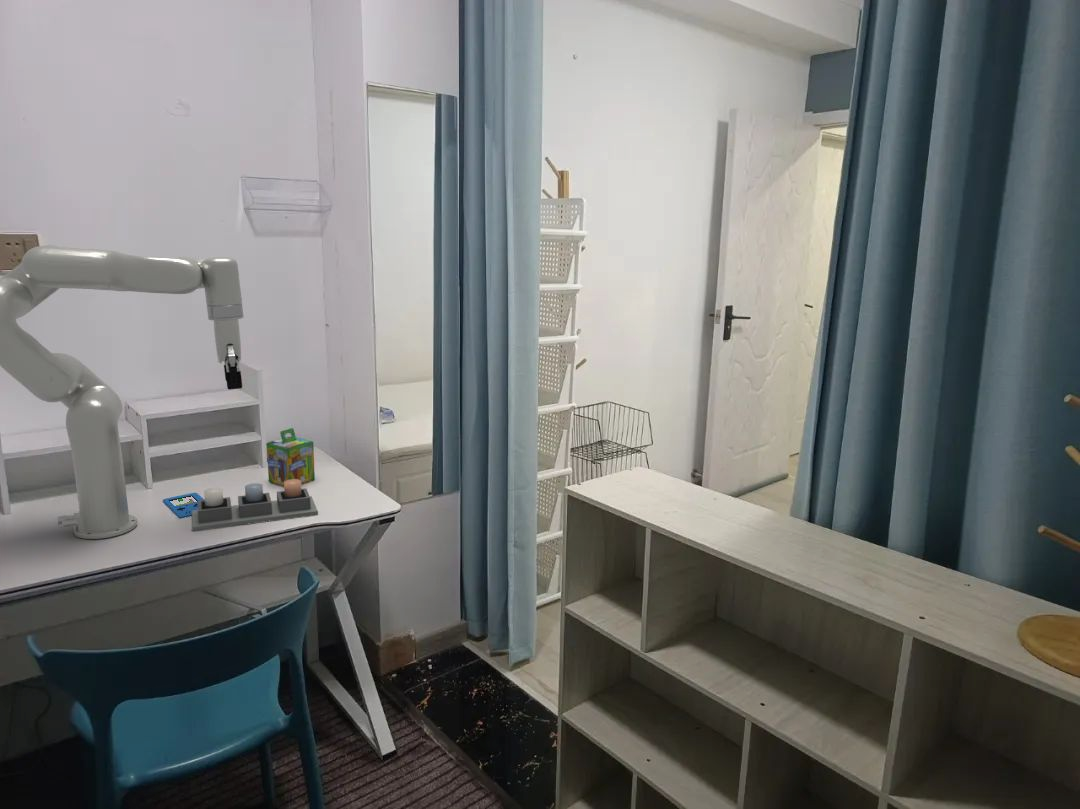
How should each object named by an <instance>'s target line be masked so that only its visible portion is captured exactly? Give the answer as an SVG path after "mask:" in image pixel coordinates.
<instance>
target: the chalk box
mask: <svg viewBox="0 0 1080 809" xmlns="http://www.w3.org/2000/svg"><path fill="white" fill-rule="evenodd" d="M295 433H296V432H295V429H294V428H292V427H291V428H286V429H284V430H281V431H280V433H279V434H280V437H281V438H279V439H276V440H271V441H269V442H266V444H265V445H266V456H267V458H266V459H267V460H266V461H267V472H268V473H267V474H268V475H267V476H268V483H269V482H270V483H269V484H274V485H278V486H282V487H284V482H285V481H286V480H290V479H299V480H301V485H304V484H307V483H310V482H312V481H315V479H316V478H315V454H314V453H315V452H314V451H315V450H314V441H312V440H308V439H305V438H302V437H296V434H295ZM288 434H290V436H286V435H288Z"/></svg>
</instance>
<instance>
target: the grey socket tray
mask: <svg viewBox="0 0 1080 809" xmlns="http://www.w3.org/2000/svg"><path fill="white" fill-rule="evenodd" d="M301 491H302V494H301V495H299V496H295V497H288V496H285V491H284V490H280V491H276V500H272V499H271V495H270V492H263V499H262V500H259V501H247V500H246V496H245V494H244V495H237V497H238V498H237V500H238V504H237V505H236V504H235V505H232V504H231V503H232V502H231V497H230V496H229V497H223V504H221V505H218V506H206V505H205V499H204V500H201V501H198V510H192V516H191V518H192V519H191V520H192V522H191V530H192V532H198V531H197V530H199V531H205V530H204V529H206V530H213V528H214V529H221V528H228V527H237V526H243V525H242V524H244V525H249V524H248V523H252V524H256V523H255V522H260V523H263V522H262V521H267V522H272V521H271V520H275V521H280V520H279V519H282V520H287V519H286V518H290V519H295V518H294V517H298V518H303V517H302V516H305V517H310V515H313V516H318V515H319V510H318V509H317V506H316V503H315V501H314V498H313V496H312V495H311V496H310V494H309V491H308V489H307V488H306V487H305V488H301ZM269 520H270V521H269ZM236 525H237V526H236Z"/></svg>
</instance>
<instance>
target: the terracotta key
mask: <svg viewBox="0 0 1080 809" xmlns="http://www.w3.org/2000/svg"><path fill="white" fill-rule="evenodd" d="M283 487H284V488H283V489H284V490H283V491H285V496H288V497H295V496H299V495H301V494H302V491H301V489H302V484H301V480H299V479H290V480H286V481H285V482H284V486H283Z"/></svg>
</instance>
